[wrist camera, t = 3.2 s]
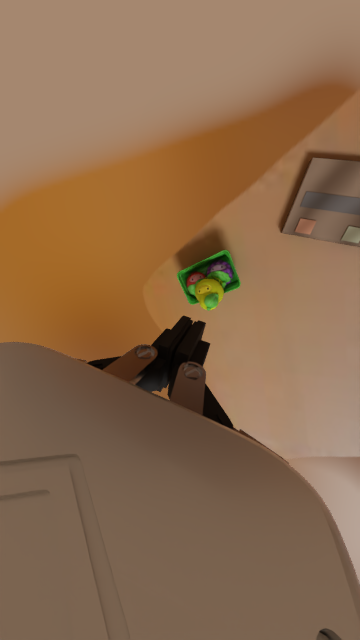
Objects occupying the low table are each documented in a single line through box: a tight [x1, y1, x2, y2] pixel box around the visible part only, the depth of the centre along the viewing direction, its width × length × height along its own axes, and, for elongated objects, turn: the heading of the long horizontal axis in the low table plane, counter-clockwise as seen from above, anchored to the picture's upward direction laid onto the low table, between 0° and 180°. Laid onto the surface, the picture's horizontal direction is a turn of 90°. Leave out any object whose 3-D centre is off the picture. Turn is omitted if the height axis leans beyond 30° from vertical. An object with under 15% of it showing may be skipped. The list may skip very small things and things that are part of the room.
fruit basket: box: [177, 250, 241, 311], centre depth 34 cm, size 11×9×11 cm
